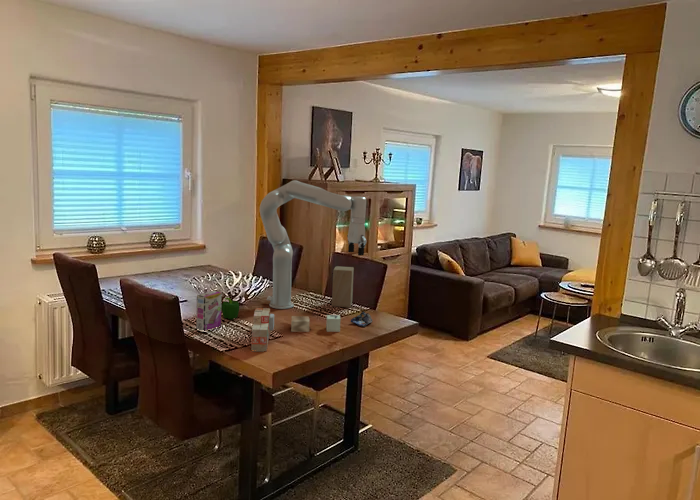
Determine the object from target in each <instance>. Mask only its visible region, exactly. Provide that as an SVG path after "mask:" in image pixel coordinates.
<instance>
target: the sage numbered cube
mask: <svg viewBox="0 0 700 500" xmlns="http://www.w3.org/2000/svg"><path fill="white" fill-rule="evenodd" d="M325 325H326V328H325V329H326V332H327V333H329V332H333V333H334V332H335V333H338V332H339V333H340V332H341V315H340V314H337V315H336V314H335V315H334V314H326V323H325Z"/></svg>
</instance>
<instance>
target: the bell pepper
mask: <svg viewBox="0 0 700 500" xmlns="http://www.w3.org/2000/svg"><path fill="white" fill-rule="evenodd" d="M224 299H225V300H226V301H225V300H224V301H223V303H222V305H221V314H222V317H223V318H224V319H226V318H228V319H227V320H235V319H234V318H236V319H237V318H238V316H239V313H240V312H239V311H240V302H239V300H238V301H237V300H236V301H234V300H232V299H231V298H230V297H225V298H224ZM227 300H228V301H227Z"/></svg>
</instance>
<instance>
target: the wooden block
mask: <svg viewBox="0 0 700 500" xmlns="http://www.w3.org/2000/svg"><path fill="white" fill-rule="evenodd" d="M354 270H355V268H354V266H339V265H337V266H335V267H334V269H333V271H332V272H333V273H332V292H331V293H332V294H331V306H332V307H337V308H338V307H339V308H351V306H352V304H353V293H354V275H355V274H354V272H355V271H354Z"/></svg>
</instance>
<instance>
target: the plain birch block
mask: <svg viewBox="0 0 700 500" xmlns="http://www.w3.org/2000/svg"><path fill="white" fill-rule="evenodd" d="M290 324H291V325H290V328H291V329H290V332H293V333H294V332H296V333H298V332H299V333H300V332H301V333H305V332H306V333H310V316H306V315H305V316H304V315H301V316H300V315H292V316H291V323H290Z"/></svg>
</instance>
